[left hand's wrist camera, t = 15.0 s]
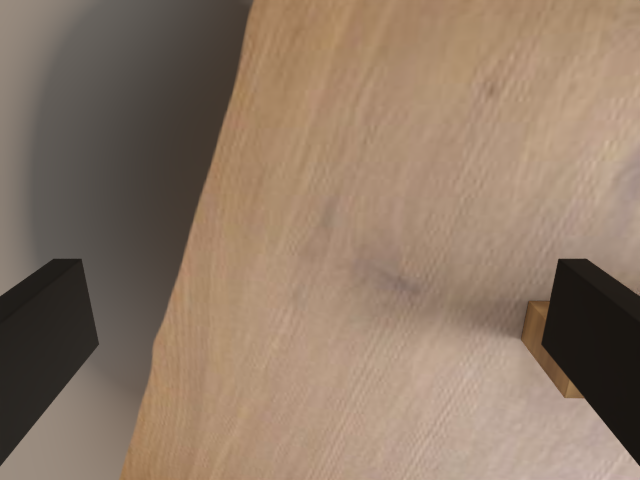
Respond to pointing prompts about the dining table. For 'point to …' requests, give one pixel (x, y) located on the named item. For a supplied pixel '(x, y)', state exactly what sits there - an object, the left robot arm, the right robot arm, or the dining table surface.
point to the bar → (533, 342)
